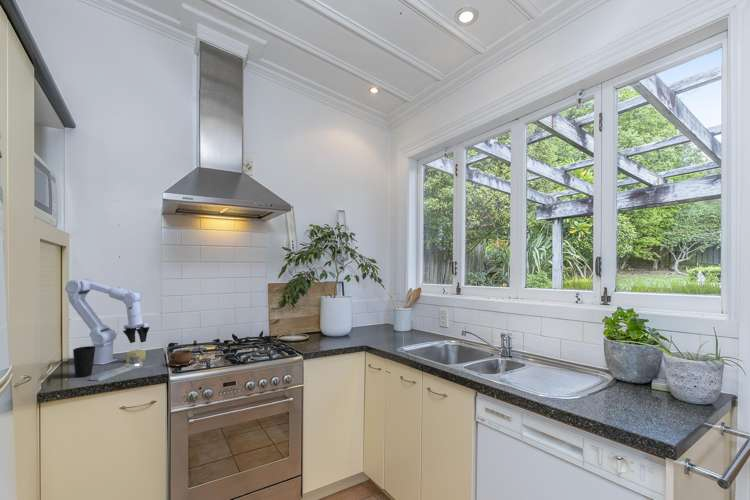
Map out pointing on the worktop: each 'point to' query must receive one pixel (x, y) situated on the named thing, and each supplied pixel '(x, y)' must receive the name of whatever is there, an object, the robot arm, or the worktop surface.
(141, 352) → the yellowish glass tumbler
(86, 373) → the cup
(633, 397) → the worktop surface
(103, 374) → the ratchet
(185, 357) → the cup and saucer
